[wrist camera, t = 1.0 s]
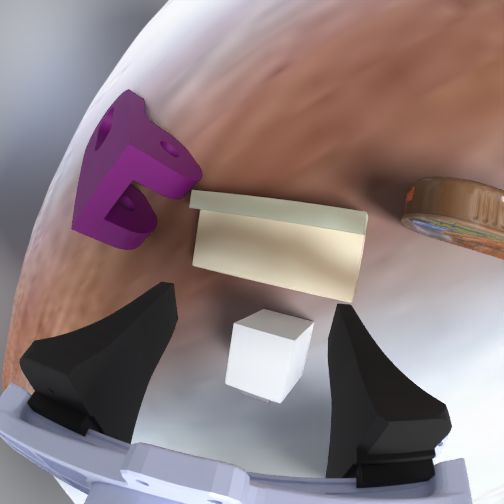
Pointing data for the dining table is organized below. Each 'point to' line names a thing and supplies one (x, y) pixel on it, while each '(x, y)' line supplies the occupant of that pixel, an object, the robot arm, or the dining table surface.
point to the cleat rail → (281, 242)
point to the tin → (457, 213)
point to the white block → (268, 354)
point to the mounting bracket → (128, 175)
